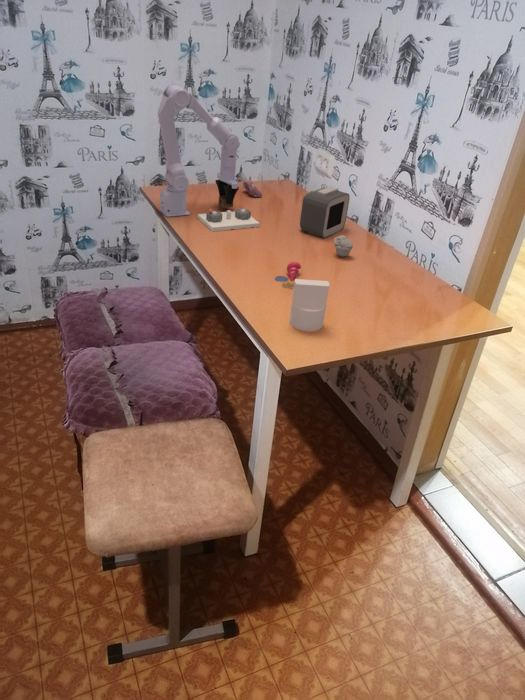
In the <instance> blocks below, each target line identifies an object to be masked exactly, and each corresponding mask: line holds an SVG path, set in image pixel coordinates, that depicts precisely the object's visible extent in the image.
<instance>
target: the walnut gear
mask: <svg viewBox="0 0 525 700" xmlns="http://www.w3.org/2000/svg"><path fill="white" fill-rule="evenodd" d="M218 207H220V208H228V209H229V208H233V207H234V202H233V203H232V204H227V203H226V196H221V197H220V196H218Z"/></svg>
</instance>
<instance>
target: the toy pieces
mask: <svg viewBox="0 0 525 700" xmlns="http://www.w3.org/2000/svg"><path fill="white" fill-rule="evenodd" d="M301 269H302V265H301V263H300V262H298V261H291V262H290V263H288V264H287V266H286V271H287V274H288V277H289V278H288V277H287V276H284V275H283V276H282V275H277V276H275V277H274V280H275V282H280V283H282V284H281V287H282V288H284V289H288V290H294V284H295V283H293V281H295V279H296V277H297V275H298V274H299V272H300V270H301ZM289 280H290V281H289ZM287 281H288V282H287ZM283 282H284V283H283ZM285 282H286V283H287V284H286V283H285ZM291 282H292V283H291Z"/></svg>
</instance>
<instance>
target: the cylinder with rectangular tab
mask: <svg viewBox="0 0 525 700" xmlns="http://www.w3.org/2000/svg"><path fill="white" fill-rule="evenodd" d="M293 284H294V285H293V286H294V287H293V293H292V300H291V307H290V317H289V324H290V325H291V326H292V327H293V328H294V327H295V328H294V329H296V328H297V330H298V329H300V330H299V331H302V330H303V331H302V332H315V331H314V330H317V331H319V330H321V329H322V328H323V325H324V319H325V313H326V308H327V304H328V303H327V301H328V296H329V292H330V291H329V290H330V282H329V281H328V280H316V279H315V280H314V279H301V278H300V279H299V278H294V283H293ZM320 328H321V329H320ZM318 329H319V330H318Z"/></svg>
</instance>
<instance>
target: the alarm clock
mask: <svg viewBox="0 0 525 700" xmlns="http://www.w3.org/2000/svg"><path fill="white" fill-rule="evenodd" d="M349 204H350V194H349V193H348V192H347V193H346V192H345V191H344V192H343V191H340V190H339V188H338V187H334V186H332V185H331V186H328V187H322V188H319V189H317V190H313V191H310V192H308V193H307V194H305V195H304V196H303V198H302V204H301V212H300V217H299V218H300V219H299V227H300V229H301V230H302V231H304V232H306V233H307V234H311V235H313V236H317V237H319V238H322V239H326V238H329V237H331V236H334V235H335V234H337V232H338V233H339V231H340V232H342V230H344V228H345V226H346V222H347V217H348V216H347V215H348V210H349V206H350V205H349Z"/></svg>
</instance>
